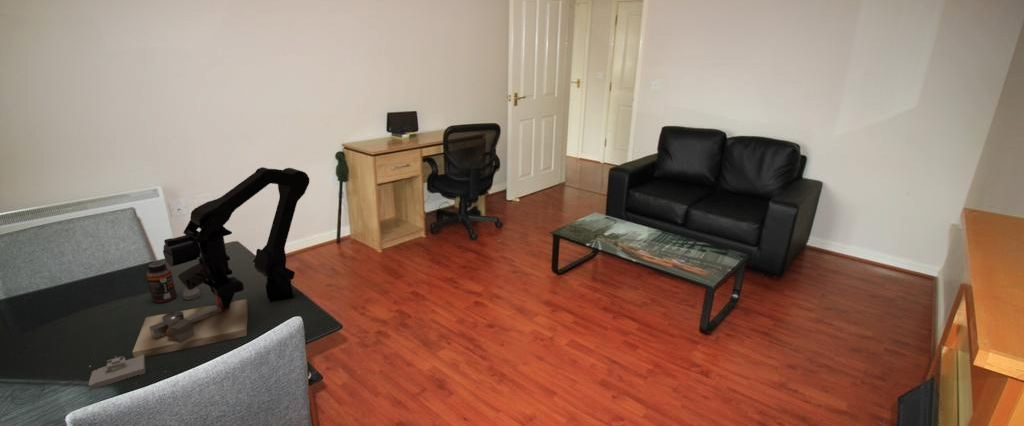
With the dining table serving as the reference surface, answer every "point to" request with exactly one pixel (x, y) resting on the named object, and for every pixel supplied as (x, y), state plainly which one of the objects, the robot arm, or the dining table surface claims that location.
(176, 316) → the lever
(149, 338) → the base
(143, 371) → the beige platform
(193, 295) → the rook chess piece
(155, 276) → the supplement bottle
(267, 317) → the dining table surface
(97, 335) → the dining table surface
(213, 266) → the robot arm
